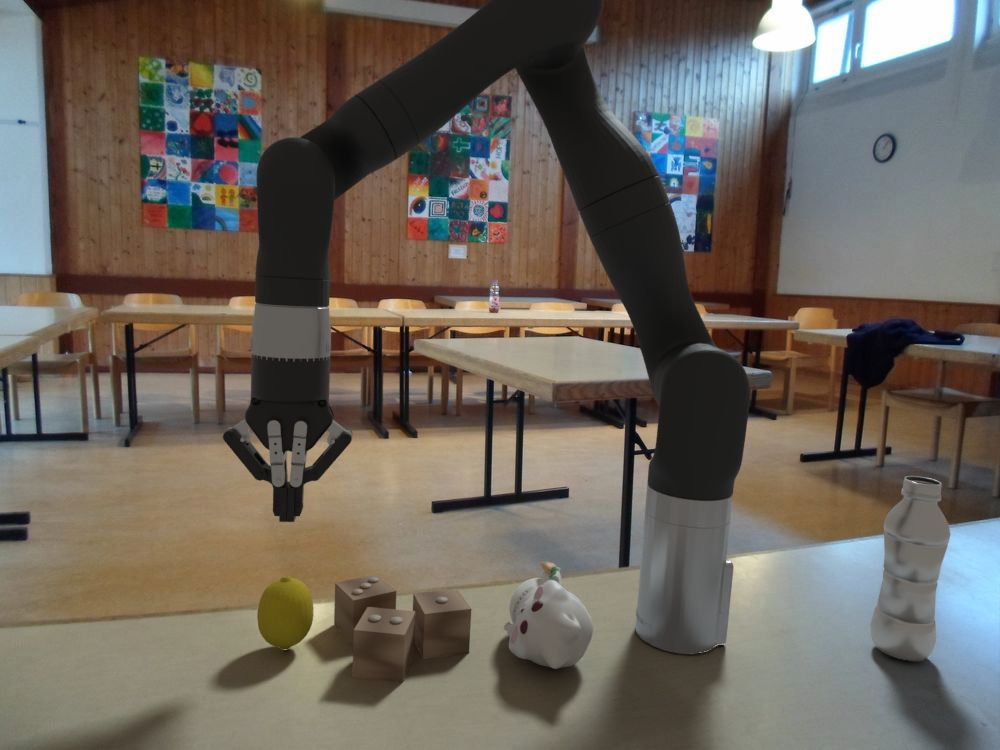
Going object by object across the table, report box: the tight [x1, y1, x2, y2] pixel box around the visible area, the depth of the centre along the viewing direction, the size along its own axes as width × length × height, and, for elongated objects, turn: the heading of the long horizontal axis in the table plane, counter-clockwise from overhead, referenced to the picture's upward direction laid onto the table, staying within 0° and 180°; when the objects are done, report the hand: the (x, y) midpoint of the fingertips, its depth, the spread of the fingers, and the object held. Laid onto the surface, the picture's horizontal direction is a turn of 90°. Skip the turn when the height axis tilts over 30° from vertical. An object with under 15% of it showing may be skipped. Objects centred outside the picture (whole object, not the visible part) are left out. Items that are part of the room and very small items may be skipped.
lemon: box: [256, 575, 314, 650], centre depth 74 cm, size 6×6×8 cm
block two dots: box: [351, 607, 415, 684], centre depth 72 cm, size 5×5×5 cm
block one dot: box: [412, 588, 472, 660], centre depth 77 cm, size 5×5×5 cm
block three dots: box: [333, 573, 397, 645], centre depth 80 cm, size 5×5×5 cm
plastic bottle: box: [869, 475, 951, 662], centre depth 80 cm, size 6×7×20 cm
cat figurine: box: [503, 561, 594, 670], centre depth 76 cm, size 10×8×15 cm
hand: (287, 519), depth 74 cm, fingers closed
